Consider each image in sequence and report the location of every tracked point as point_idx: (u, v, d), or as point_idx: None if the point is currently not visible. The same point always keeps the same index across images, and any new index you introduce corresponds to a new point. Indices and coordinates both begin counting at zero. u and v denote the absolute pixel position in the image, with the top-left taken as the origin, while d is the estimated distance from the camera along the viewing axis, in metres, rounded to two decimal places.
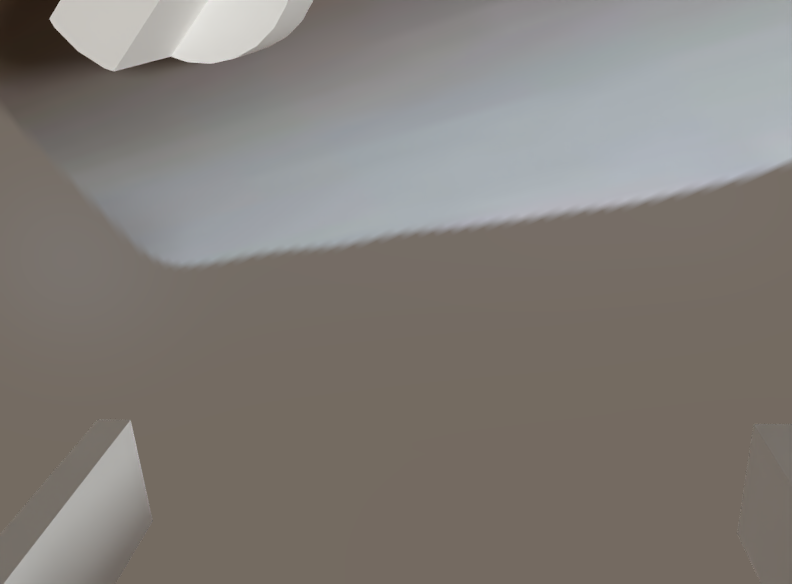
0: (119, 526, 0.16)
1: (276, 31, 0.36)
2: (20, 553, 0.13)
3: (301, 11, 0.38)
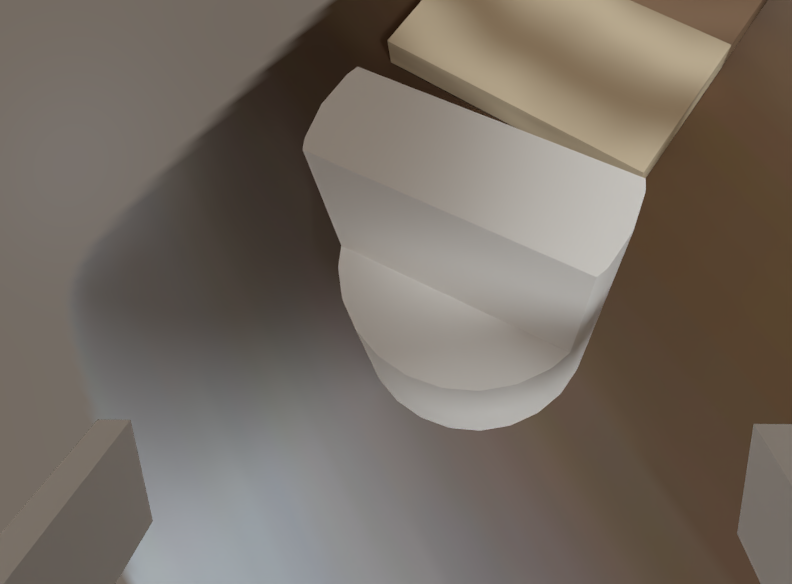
0: (119, 526, 0.16)
1: (401, 381, 0.25)
2: (20, 553, 0.13)
3: (433, 413, 0.28)
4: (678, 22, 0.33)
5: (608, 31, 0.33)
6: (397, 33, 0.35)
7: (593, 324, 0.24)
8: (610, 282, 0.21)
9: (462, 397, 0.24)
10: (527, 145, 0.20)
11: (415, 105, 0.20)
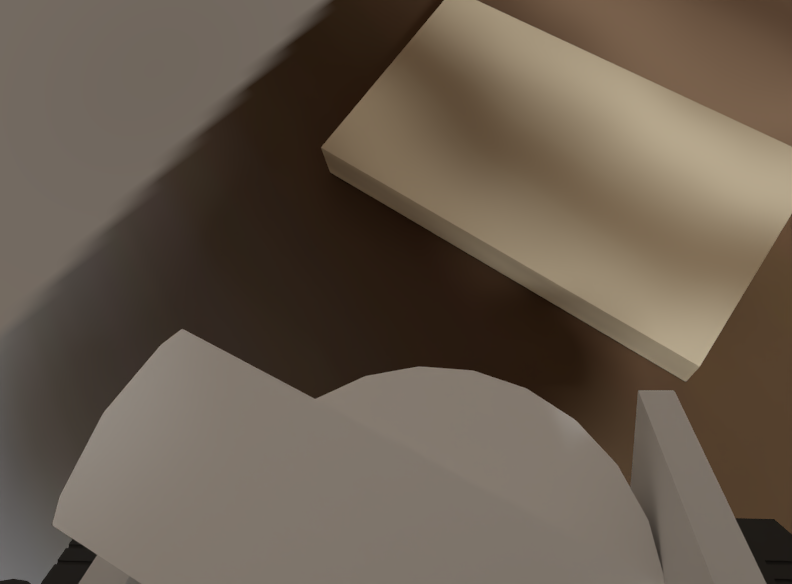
0: None
1: None
2: None
3: None
4: (742, 124, 0.23)
5: (639, 138, 0.23)
6: (335, 136, 0.24)
7: None
8: None
9: None
10: (521, 543, 0.09)
11: (289, 427, 0.10)
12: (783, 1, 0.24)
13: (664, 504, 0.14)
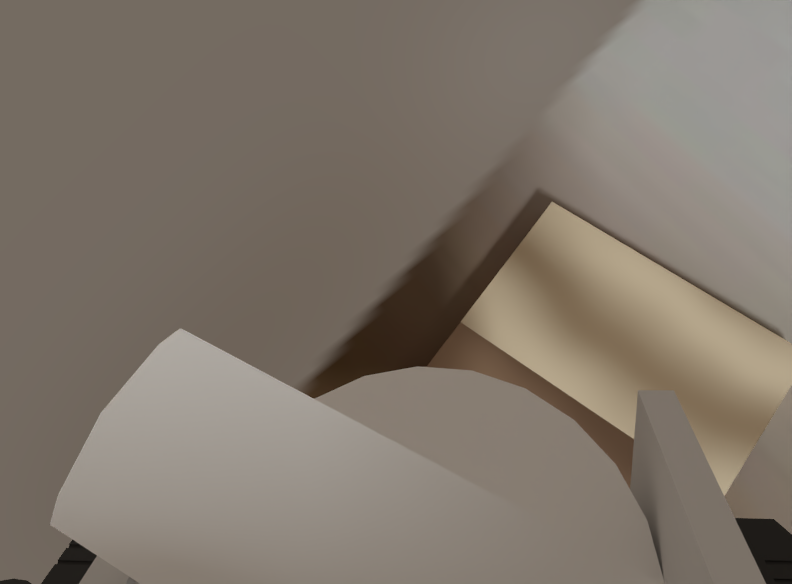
0: None
1: None
2: None
3: None
4: None
5: None
6: None
7: None
8: None
9: None
10: (518, 543, 0.09)
11: (287, 427, 0.10)
12: None
13: (664, 504, 0.14)
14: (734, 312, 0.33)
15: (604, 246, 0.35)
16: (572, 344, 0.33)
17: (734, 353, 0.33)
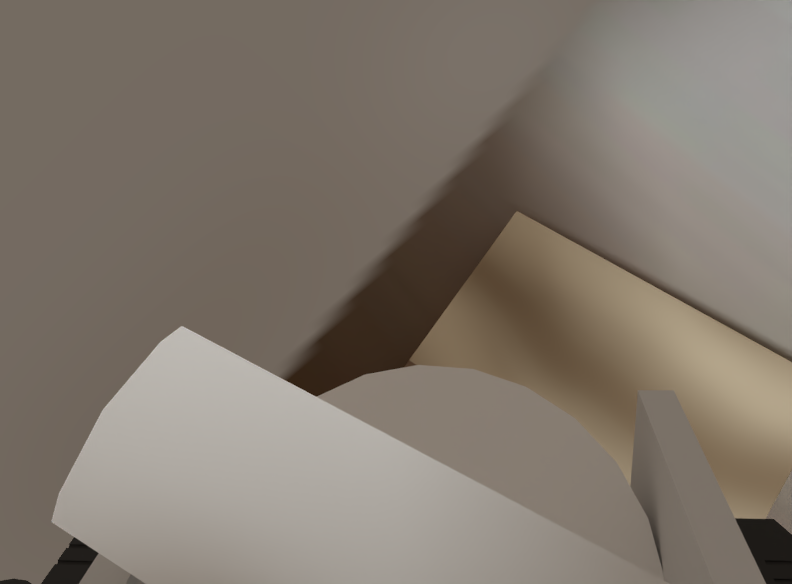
0: None
1: None
2: None
3: None
4: None
5: None
6: None
7: None
8: None
9: None
10: (520, 540, 0.09)
11: (288, 424, 0.10)
12: None
13: (664, 504, 0.14)
14: (740, 337, 0.27)
15: (580, 262, 0.29)
16: (544, 382, 0.27)
17: (743, 388, 0.27)
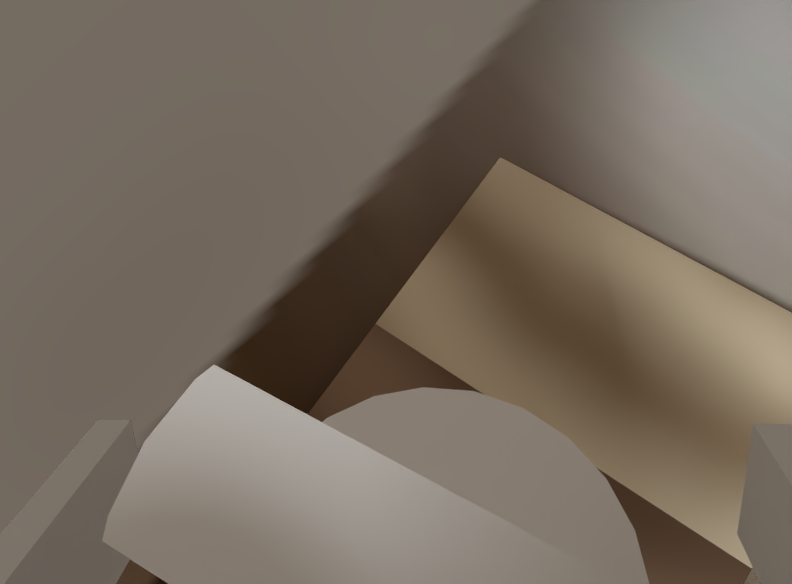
0: None
1: None
2: (20, 553, 0.13)
3: None
4: None
5: None
6: None
7: None
8: None
9: None
10: (515, 557, 0.10)
11: (311, 453, 0.11)
12: None
13: None
14: (755, 297, 0.24)
15: (572, 214, 0.25)
16: (530, 349, 0.24)
17: (758, 355, 0.23)
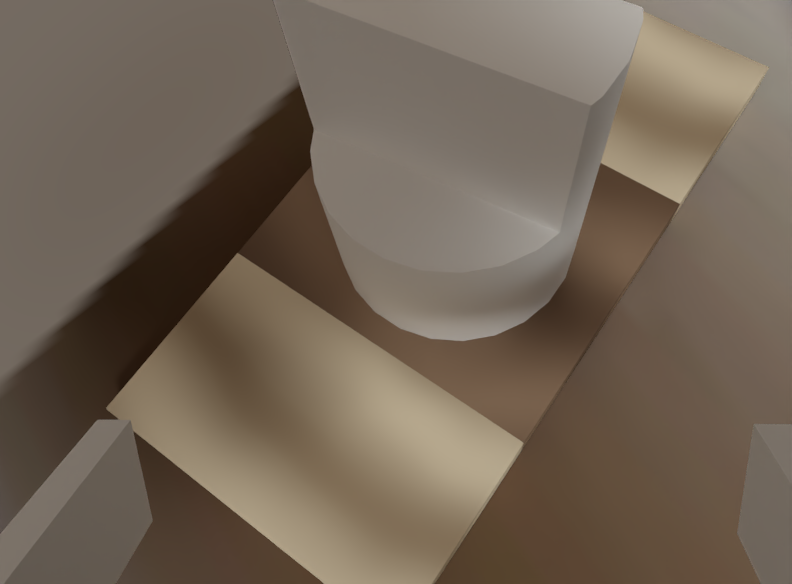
0: (119, 526, 0.16)
1: (378, 272, 0.23)
2: (20, 553, 0.13)
3: (413, 318, 0.26)
4: (463, 402, 0.26)
5: (375, 412, 0.26)
6: (119, 398, 0.27)
7: (584, 204, 0.22)
8: (603, 138, 0.19)
9: (444, 285, 0.23)
10: None
11: None
12: None
13: None
14: (689, 34, 0.31)
15: None
16: None
17: (689, 71, 0.31)
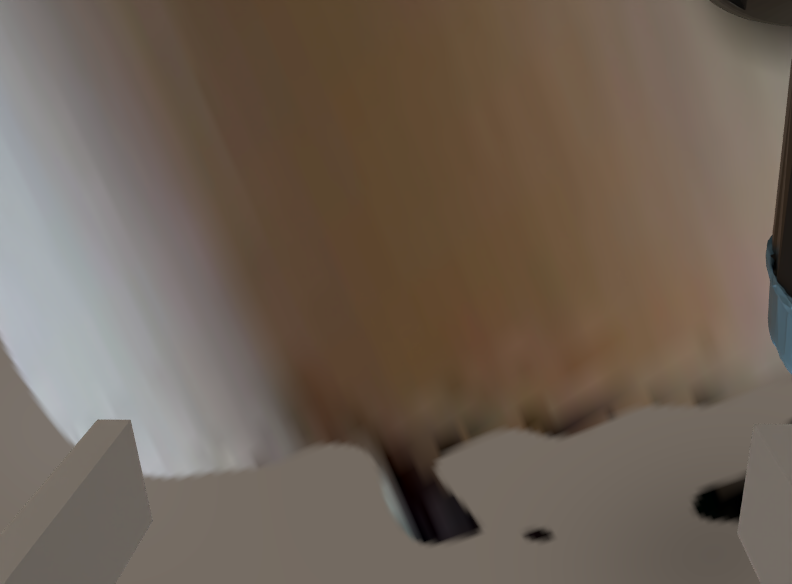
0: (119, 526, 0.16)
1: None
2: (20, 553, 0.13)
3: None
4: None
5: None
6: None
7: None
8: None
9: None
10: None
11: None
12: None
13: None
14: None
15: None
16: None
17: None
